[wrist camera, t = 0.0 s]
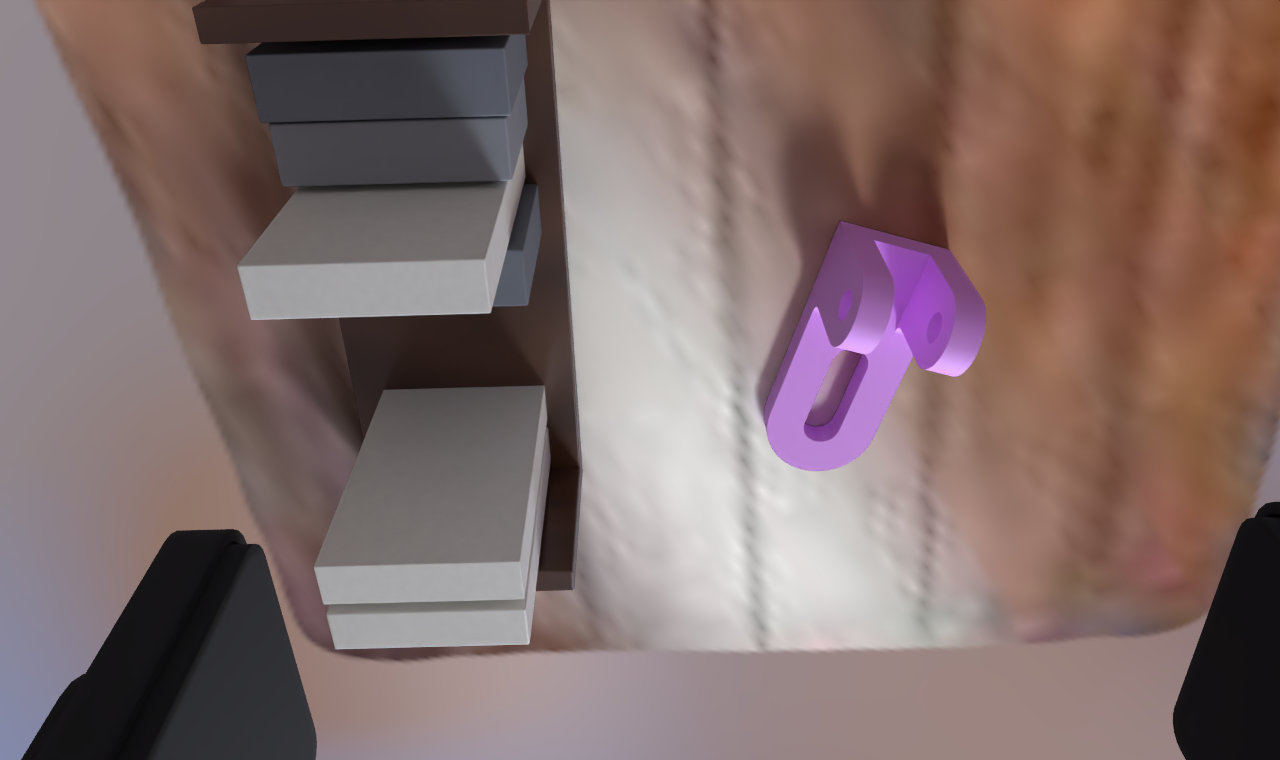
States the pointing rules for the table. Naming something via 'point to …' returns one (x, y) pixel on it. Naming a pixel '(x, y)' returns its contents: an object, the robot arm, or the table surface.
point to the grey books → (403, 121)
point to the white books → (440, 521)
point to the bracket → (870, 340)
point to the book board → (508, 336)
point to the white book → (383, 250)
